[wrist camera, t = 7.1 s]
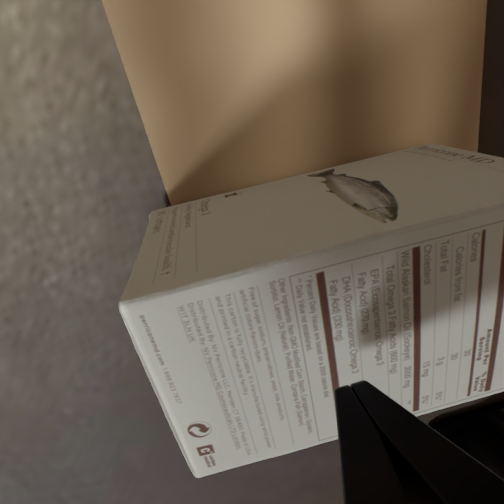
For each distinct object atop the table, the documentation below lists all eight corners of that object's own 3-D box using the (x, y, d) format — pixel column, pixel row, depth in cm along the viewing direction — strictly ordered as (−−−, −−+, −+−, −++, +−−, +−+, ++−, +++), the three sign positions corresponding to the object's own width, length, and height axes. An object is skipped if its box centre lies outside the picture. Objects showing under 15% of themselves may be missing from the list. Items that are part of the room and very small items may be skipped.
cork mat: (482, -84, 13) (492, -90, 12) (458, 362, 22) (464, 368, 22) (104, 3, 12) (101, -1, 12) (246, 425, 21) (247, 432, 21)
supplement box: (145, 207, 15) (427, 138, 15) (193, 343, 18) (425, 280, 18) (106, 300, 8) (610, 168, 9) (195, 492, 11) (558, 383, 12)
